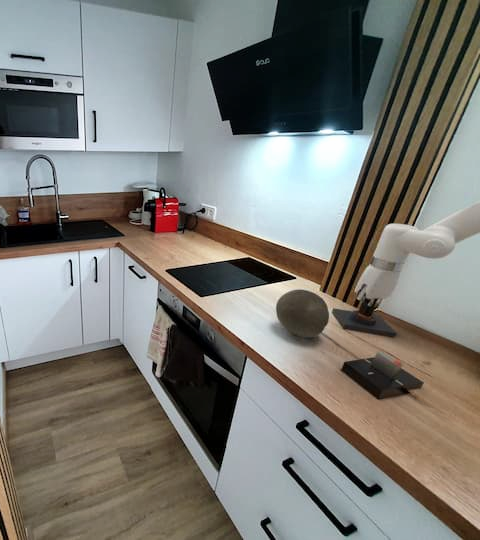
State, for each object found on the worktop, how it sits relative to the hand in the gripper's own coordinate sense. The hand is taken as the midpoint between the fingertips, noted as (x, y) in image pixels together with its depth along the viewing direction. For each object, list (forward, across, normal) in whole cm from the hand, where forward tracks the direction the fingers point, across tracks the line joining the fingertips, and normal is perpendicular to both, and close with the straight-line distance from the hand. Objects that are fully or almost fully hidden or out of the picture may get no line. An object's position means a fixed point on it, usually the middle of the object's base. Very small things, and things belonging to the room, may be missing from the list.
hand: (364, 314), depth 95 cm
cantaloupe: (+6, +25, -1) cm, 26 cm away
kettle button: (+2, 0, 0) cm, 2 cm away
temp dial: (+2, +19, +21) cm, 28 cm away
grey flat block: (+5, 0, 0) cm, 5 cm away
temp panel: (+5, +19, +21) cm, 29 cm away
